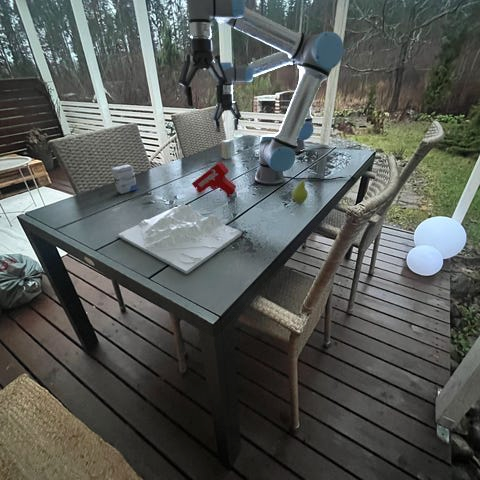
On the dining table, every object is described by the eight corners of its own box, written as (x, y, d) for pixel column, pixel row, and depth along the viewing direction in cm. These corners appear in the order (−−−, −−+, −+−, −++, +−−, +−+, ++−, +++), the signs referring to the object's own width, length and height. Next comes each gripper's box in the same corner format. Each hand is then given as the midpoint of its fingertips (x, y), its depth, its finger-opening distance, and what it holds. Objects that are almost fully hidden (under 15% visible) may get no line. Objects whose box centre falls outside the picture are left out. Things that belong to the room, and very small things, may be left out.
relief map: (186, 274, 80) (184, 260, 77) (118, 236, 97) (114, 224, 95) (241, 234, 98) (241, 222, 95) (176, 209, 116) (174, 198, 113)
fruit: (288, 200, 123) (290, 174, 116) (302, 197, 125) (305, 172, 119) (296, 206, 118) (299, 179, 111) (310, 203, 120) (314, 177, 114)
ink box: (133, 186, 138) (127, 163, 132) (137, 189, 135) (132, 165, 129) (116, 191, 133) (110, 167, 127) (121, 194, 130) (114, 170, 124)
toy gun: (240, 187, 127) (221, 160, 123) (237, 190, 124) (218, 163, 120) (214, 205, 137) (195, 180, 133) (210, 208, 134) (191, 183, 130)
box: (221, 157, 181) (221, 140, 175) (227, 156, 183) (226, 139, 177) (226, 159, 178) (225, 142, 172) (231, 158, 180) (231, 141, 174)
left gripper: (173, 36, 88) (181, 107, 100) (235, 39, 101) (236, 102, 112) (164, 37, 93) (172, 106, 105) (224, 40, 106) (226, 101, 117)
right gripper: (211, 94, 153) (213, 134, 164) (246, 92, 165) (246, 129, 176) (205, 93, 158) (207, 132, 169) (239, 91, 170) (239, 127, 182)
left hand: (205, 104), depth 109 cm, fingers open, 13 cm apart
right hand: (227, 131), depth 173 cm, fingers open, 13 cm apart
